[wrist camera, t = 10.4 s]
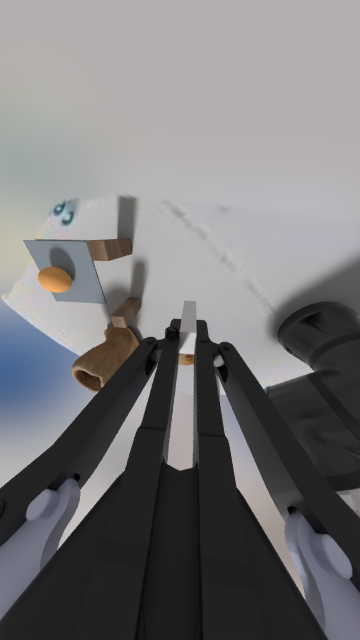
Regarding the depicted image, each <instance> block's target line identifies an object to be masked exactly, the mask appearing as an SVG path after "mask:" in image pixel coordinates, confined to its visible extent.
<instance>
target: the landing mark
mask: <svg viewBox="0 0 360 640" xmlns="http://www.w3.org/2000/svg"><path fill="white" fill-rule="evenodd" d="M23 241H24V243H25V244H26V246H27V248H28V250H29V252H30V254H31V256H32V257H33V259H34V261H35V263H36V265H37V267H38V268H39V270H40V271H41V270H42V269H44V268H46V267H57V268H61V269H63V270H64V271H66V272H67V273H68V274H69V275H70V277H71V279H72V286H71V288H70V289H69V290H67V291H65V292H60V293H57V292H52V291H51V292H52V294H53V296H54V298H55V299H56V301H66V302H84V303H101V304H106V301H105V298H104V295H103V292H102V288H101V285H100V282H99V279H98V276H97V273H96V270H95V267H94V264H93V261H92V258H91V255H90V252H89V249H88V246H87V242H77V241H35V240H33V241H32V240H23Z"/></svg>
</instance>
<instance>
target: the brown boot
mask: <svg viewBox="0 0 360 640" xmlns="http://www.w3.org/2000/svg"><path fill="white" fill-rule="evenodd" d="M104 334H105V337H106V341H105V342H104V343H102V344H100V345H98V346H96V347H94V348H92V349H91V350H89V351H88V352H86V353H85V354H83V355H82V356H81V357H79V358H78V359H77V360H76V361H75V363H74V364H73V366H72V369H71V373H72V375H73V377H74V379H75V380H76V381H77V382H78V383H79V384H81V385H82V386H83V387H85V388H87V389H89V390H90V391H92V392H95V393H98V392H99V391H100V389H101V388H102V387H103V386H104V385H105V384H106V382H107V381H108V380H109V379H110V378H111V377H112V376H113V374H114V373H115V372H116V371H117V370H118V369H119V367H120V366H121V365H122V364H123V363H124V362H125V360H126V359H127V358H128V357H129V356H130V355H131V353H132V352H133V351H134V350H135V349H136V348H137V347H138V345H139V342H138V340H137V338H136V337H135V335H134V333H133V332H132V331H131V330H130V329H129V328H128V327H126V328H121V327H114V326H112V327H109V328H107V330H105V332H104Z"/></svg>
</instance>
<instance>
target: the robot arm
mask: <svg viewBox="0 0 360 640" xmlns="http://www.w3.org/2000/svg"><path fill="white" fill-rule="evenodd" d="M278 340H279V342H280V344H281V345H282V346H283V348H284V349H285V350H286V351H287V352H289V353H290V354H292V355H293V356H295V357H296V358H298V359H300V360H301V361H303V362H304V363H306V364H307V365H309V366H310V367H311V368H312V369H313V371H314V372H313V373H310V374H307V375H303V376H300V377H297V378H294V379H291V380H288V381H285V382H282V383H279V384H276V385H273V386H269V387H266V388H265V389H263V388H262V387H261V385H260V384H259V382H258V381H257V379H256V378H255V376H254V375H253V373H252V372H251V370H250V369H249V368H248V366H247V365H246V363H245V362H244V360H243V359H242V357H241V356H240V354H239V353H238V352H237V350H236V349H235V347H234V346H233V345H232V344H231V343H228V342H221V343H220V344H216V343H213V342H212V341H211V340H210V338H209V336H208V329H207V323H206V322H205V320H196V301H184V307H183V313H182V319H173V320H172V321H171V324H170V327H168V328H166V330H165V338H164V339H161V340H157V339H156V338H154V337H147V338H145V339H144V340H143V341H142V342H141V343H140V344H139V345H138V347H137V348H136V349H135V350H134V351H133V352H132V353H131V355H130V356H129V357H128V358H127V359H126V360H125V362H124V363H123V364H122V365H121V366H120V367H119V369H118V370H117V371H116V372H115V373H114V374H113V376H112V377H111V378H110V379H109V380H108V381H107V382H106V384H105V385H104V386H103V387H102V388H101V389H100V391H99V392H98V393H97V394H96V395H95V396H94V398H93V399H92V400H91V401H90V402H89V404H88V405H87V406H86V407H85V408H84V409H83V410H82V412H81V413H80V414H79V415H78V416H77V417H76V418H75V420H74V421H73V422H72V423H71V424H70V425H69V427H68V428H67V429H66V430H65V431H64V433H63V434H62V435H61V436H60V437H59V438H58V439H57V441H56V442H55V443H54V444H53V445H52V446H51V447H50V448H49V449H47V450H46V451H45V452H44V453H43V454H41V455H40V456H39V457H38V458H36V459H35V460H34V461H33V462H32V463H30V464H29V465H28V466H27V467H26V468H25V469H23V470H22V471H21V472H20V473H18V474H17V475H16V476H15V477H14V478H12V479H11V480H10V481H9V482H7V483H6V484H5V485H4V486H3V487H1V488H0V640H360V316H359V315H358V314H357V313H356V312H355V311H354V310H352V309H350V308H348V307H346V306H344V305H342V304H339V303H333V302H325V303H318V304H314V305H310V306H308V307H305V308H303V309H301V310H299V311H297V312H296V313H294V314H293V315H291V316H290V317H289V318H288V319H287V320H286V321H285V322H284V323H283V324H282V326H281V327H280V329H279V332H278ZM179 353H182V354H194V363H193V364H194V425H193V426H194V427H193V428H194V429H193V431H194V432H193V435H194V436H193V437H194V438H193V468H189V469H185V470H182V471H179V470H177V469H175V468H173V467H171V466H169V465H168V464H167V459H168V447H169V438H170V429H171V421H172V413H173V404H174V395H175V388H176V379H177V371H178V363H179ZM157 364H158V366H157ZM156 366H157V370H156V373H155V377H154V380H153V384H152V388H151V391H150V395H149V398H148V402H147V406H146V409H145V413H144V417H143V420H142V423H141V425H140V427H139V428H138V429H137V432H136V434H135V437H134V441H133V444H132V447H131V451H130V454H129V458H128V461H127V465H126V468H125V471H124V472H123V473H122V474H121V475H120V476H119V477H118V478H117V479H116V480H115V481H114V482H113V483H112V485H111V486H110V487H109V488H108V490H107V491H106V492H105V493H104V495H103V496H102V497H101V498H100V499H99V500H98V502H97V503H96V504H95V505H94V507H93V508H92V509H91V510H90V511H89V513H88V514H87V515H86V516H85V518H84V519H83V520H82V521H81V522H80V524H79V525H78V526H77V527H76V529H75V530H74V531H73V532H72V533H71V535H70V536H69V537H68V538H67V539H66V541H65V542H64V543H63V544H62V546H61V547H60V548H59V549H58V550H57V548H58V545H59V541H60V539H61V536H62V534H63V532H64V530H65V528H66V527H67V525H68V523H69V522H70V520H71V519H72V517H73V515H74V514H75V511H76V509H77V507H78V503H79V500H80V489H81V488H82V487H83V486H84V484H85V483H86V482H87V480H88V479H89V478H90V476H91V475H92V474H93V472H94V471H95V469H96V468H97V466H98V464H99V463H100V461H101V460H102V458H103V456H104V455H105V453H106V451H107V450H108V448H109V446H110V445H111V443H112V441H113V439H114V438H115V436H116V434H117V433H118V431H119V429H120V428H121V426H122V424H123V422H124V421H125V419H126V417H127V416H128V414H129V412H130V411H131V409H132V407H133V405H134V404H135V402H136V400H137V399H138V397H139V395H140V393H141V392H142V390H143V388H144V387H145V385H146V383H147V382H148V380H149V378H150V376H151V375H152V373H153V371H154V370H155V368H156ZM215 370H216V372H217V374H218V377H219V379H220V381H221V384H222V386H223V388H224V391H225V393H226V395H227V397H228V400H229V402H230V404H231V406H232V409H233V411H234V414H235V416H236V418H237V421H238V423H239V425H240V428H241V430H242V432H243V434H244V437H245V439H246V442H247V444H248V446H249V448H250V451H251V453H252V455H253V458H254V460H255V462H256V465H257V467H258V469H259V472H260V474H261V476H262V478H263V481H264V483H265V485H266V487H267V489H268V491H269V494H270V496H271V498H272V500H273V501H274V503H275V505H276V507H277V509H278V510H279V512H280V514H281V516H282V518H283V519H284V521H285V522H286V524H285V538H286V543H287V546H288V549H289V552H290V554H291V557H292V558H293V561H294V563H295V565H296V568H297V570H298V572H299V575H300V578H301V581H302V584H303V588H304V593H305V598H306V601H305V599H304V598H303V596H302V594H301V593H300V591H299V589H298V588H297V586H296V584H295V582H294V581H293V579H292V577H291V576H290V574H289V572H288V571H287V569H286V567H285V566H284V564H283V562H282V561H281V559H280V557H279V555H278V554H277V552H276V550H275V549H274V547H273V545H272V544H271V542H270V540H269V539H268V537H267V535H266V534H265V532H264V530H263V529H262V527H261V525H260V524H259V522H258V520H257V518H256V517H255V515H254V513H253V512H252V510H251V508H250V507H249V505H248V503H247V502H246V500H245V498H244V497H243V495H242V494H241V493H240V491H239V490H238V489H237V487H236V482H235V476H234V470H233V464H232V458H231V451H230V446H229V442H228V439H227V438H226V436H225V433H224V427H223V421H222V414H221V407H220V401H219V394H218V387H217V380H216V374H215Z"/></svg>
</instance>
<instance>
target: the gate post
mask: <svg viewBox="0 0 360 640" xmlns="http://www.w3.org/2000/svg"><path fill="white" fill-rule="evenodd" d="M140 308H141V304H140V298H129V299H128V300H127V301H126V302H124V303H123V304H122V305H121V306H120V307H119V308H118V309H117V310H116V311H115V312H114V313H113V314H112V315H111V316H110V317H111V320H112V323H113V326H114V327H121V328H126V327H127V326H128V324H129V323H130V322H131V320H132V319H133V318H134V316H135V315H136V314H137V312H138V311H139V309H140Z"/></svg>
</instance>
